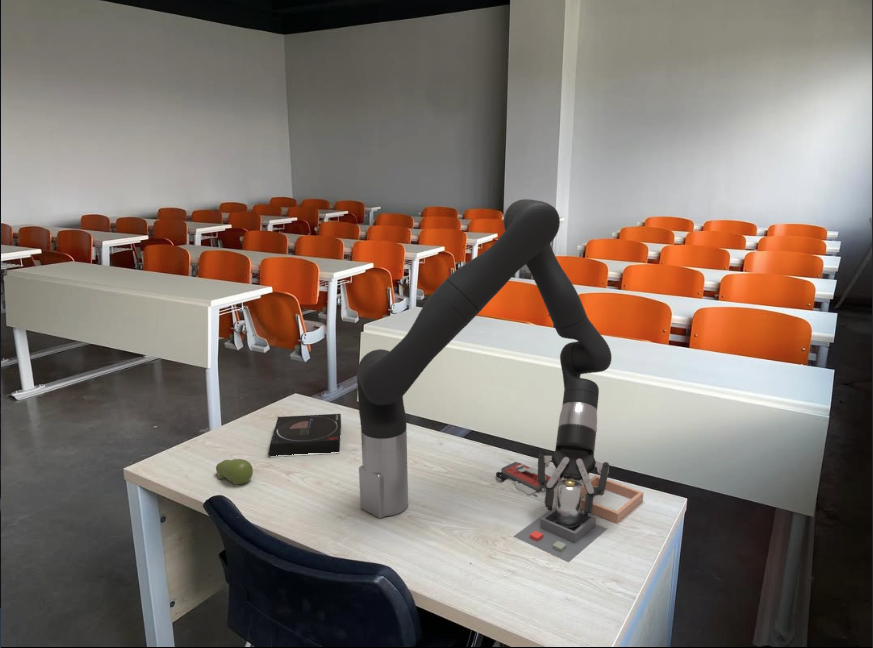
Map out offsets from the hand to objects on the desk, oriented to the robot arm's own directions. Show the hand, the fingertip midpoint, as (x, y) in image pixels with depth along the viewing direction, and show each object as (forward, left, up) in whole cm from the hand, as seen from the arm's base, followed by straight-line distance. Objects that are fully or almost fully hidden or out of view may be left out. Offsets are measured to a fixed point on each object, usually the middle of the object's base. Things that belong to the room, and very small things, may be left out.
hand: (567, 512), depth 125 cm
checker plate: (-1, +1, -6) cm, 6 cm away
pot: (+15, 0, -6) cm, 16 cm away
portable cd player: (-6, +73, -6) cm, 73 cm away
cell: (+2, +1, -4) cm, 5 cm away
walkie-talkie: (+11, +15, -6) cm, 19 cm away
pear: (-30, +69, -6) cm, 75 cm away
